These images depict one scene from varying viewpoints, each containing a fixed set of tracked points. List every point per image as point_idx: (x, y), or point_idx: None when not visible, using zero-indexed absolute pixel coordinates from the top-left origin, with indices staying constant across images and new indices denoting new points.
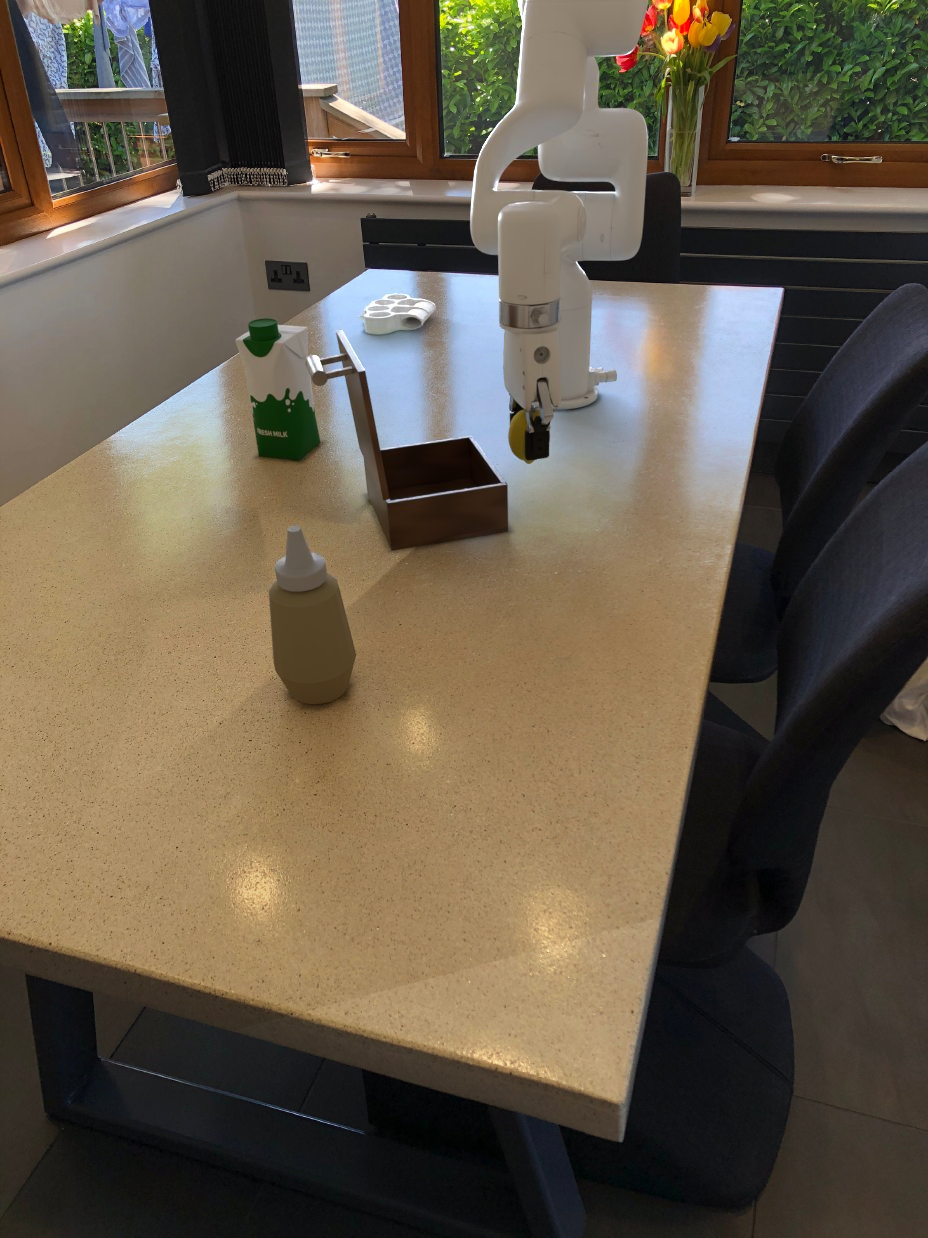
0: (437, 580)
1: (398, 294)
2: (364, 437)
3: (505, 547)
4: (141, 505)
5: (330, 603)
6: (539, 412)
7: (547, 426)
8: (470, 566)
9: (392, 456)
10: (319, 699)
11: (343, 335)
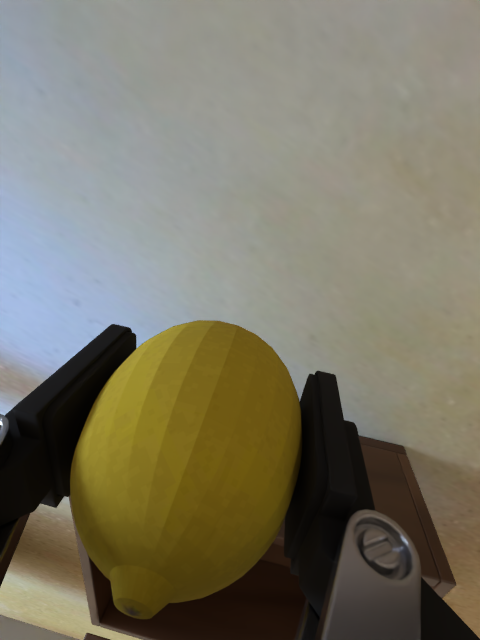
0: (457, 578)
1: None
2: None
3: (456, 478)
4: (82, 633)
5: None
6: (177, 527)
7: (462, 627)
8: (463, 539)
9: (106, 578)
10: None
11: None
